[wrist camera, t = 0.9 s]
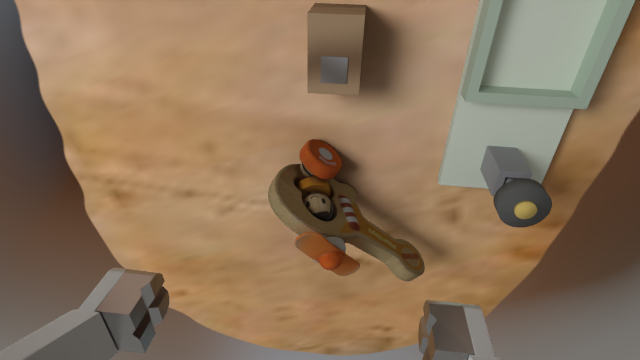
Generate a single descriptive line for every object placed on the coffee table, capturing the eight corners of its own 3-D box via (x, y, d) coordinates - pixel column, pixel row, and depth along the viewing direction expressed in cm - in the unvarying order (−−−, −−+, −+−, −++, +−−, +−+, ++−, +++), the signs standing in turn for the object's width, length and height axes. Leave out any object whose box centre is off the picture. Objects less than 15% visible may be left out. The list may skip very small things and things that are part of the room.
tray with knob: (501, -91, 30) (527, -95, 25) (648, -88, 29) (706, -92, 24) (437, 178, 45) (445, 211, 40) (534, 186, 44) (555, 221, 39)
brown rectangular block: (315, 2, 36) (307, 12, 31) (366, 4, 35) (365, 15, 31) (314, 75, 40) (307, 93, 35) (360, 78, 39) (358, 96, 35)
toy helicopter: (303, 126, 43) (278, 197, 32) (438, 217, 48) (458, 307, 36) (268, 173, 47) (234, 251, 36) (395, 252, 52) (401, 343, 41)
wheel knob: (491, 157, 37) (507, 189, 32) (538, 160, 36) (561, 193, 32) (479, 193, 39) (493, 227, 35) (523, 197, 39) (543, 232, 34)
